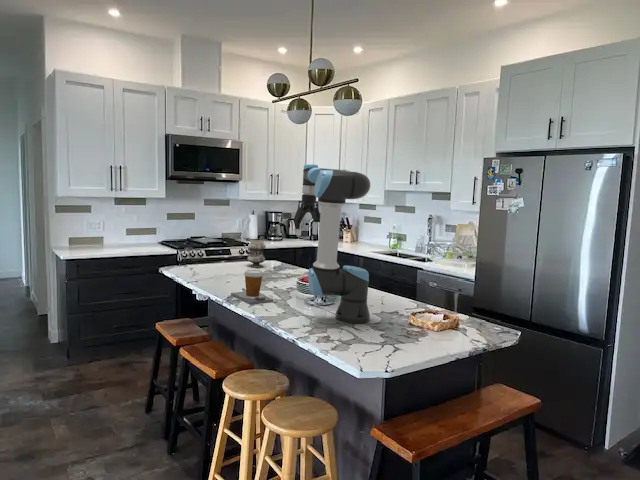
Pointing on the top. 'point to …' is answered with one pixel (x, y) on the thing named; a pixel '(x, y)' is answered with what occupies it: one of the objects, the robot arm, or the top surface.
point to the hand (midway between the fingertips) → (306, 234)
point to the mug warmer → (252, 298)
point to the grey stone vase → (256, 253)
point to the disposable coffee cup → (253, 282)
